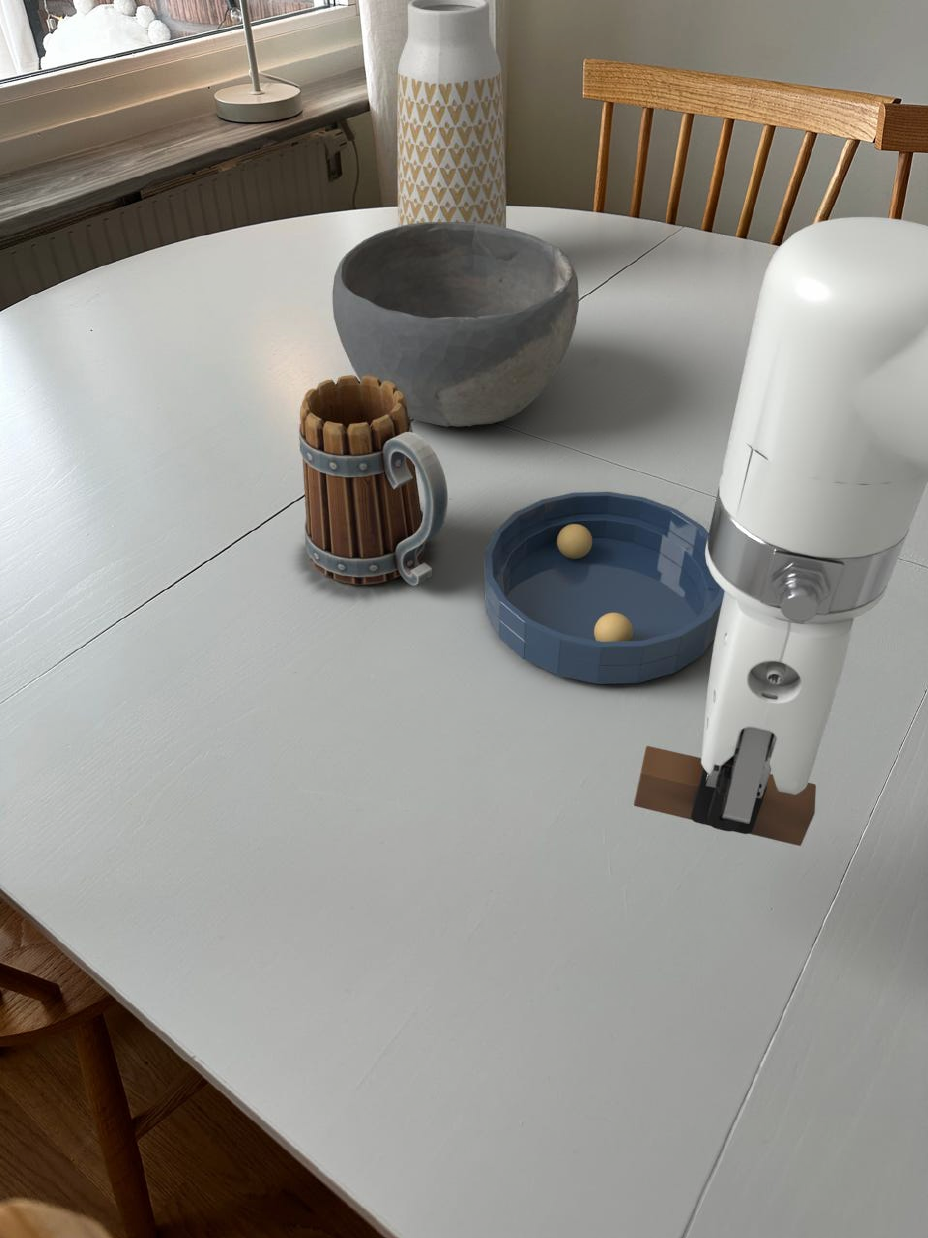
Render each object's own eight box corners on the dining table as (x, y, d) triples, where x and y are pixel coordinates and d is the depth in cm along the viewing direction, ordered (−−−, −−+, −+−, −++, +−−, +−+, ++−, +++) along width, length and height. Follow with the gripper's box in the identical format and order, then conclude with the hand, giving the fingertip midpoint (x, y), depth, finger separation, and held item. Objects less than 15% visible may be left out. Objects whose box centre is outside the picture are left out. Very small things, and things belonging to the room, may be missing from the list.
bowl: (581, 463, 96) (593, 319, 86) (333, 466, 96) (315, 322, 86) (561, 344, 114) (569, 214, 104) (352, 347, 114) (340, 217, 104)
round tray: (730, 553, 85) (739, 512, 82) (705, 711, 72) (715, 669, 69) (517, 517, 90) (518, 476, 87) (456, 660, 76) (455, 618, 73)
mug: (283, 547, 87) (258, 397, 77) (377, 500, 92) (365, 353, 82) (393, 638, 78) (380, 482, 68) (490, 580, 83) (492, 427, 73)
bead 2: (617, 638, 78) (645, 642, 75) (591, 655, 76) (619, 660, 74) (607, 604, 77) (636, 608, 74) (582, 621, 75) (610, 625, 73)
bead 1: (590, 523, 82) (557, 517, 83) (581, 558, 82) (548, 551, 83) (600, 531, 84) (568, 525, 86) (591, 565, 84) (559, 558, 86)
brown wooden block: (802, 817, 54) (816, 783, 51) (800, 847, 52) (815, 813, 50) (639, 778, 55) (646, 744, 53) (633, 806, 54) (640, 772, 52)
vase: (394, 256, 133) (379, -8, 112) (493, 248, 135) (496, -13, 114) (408, 299, 123) (394, 19, 102) (515, 290, 125) (522, 12, 104)
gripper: (902, 691, 34) (785, 953, 47) (893, 449, 45) (801, 713, 58) (687, 648, 36) (630, 912, 48) (729, 425, 47) (674, 687, 60)
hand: (723, 802), depth 53 cm, fingers closed on brown wooden block, 2 cm apart
